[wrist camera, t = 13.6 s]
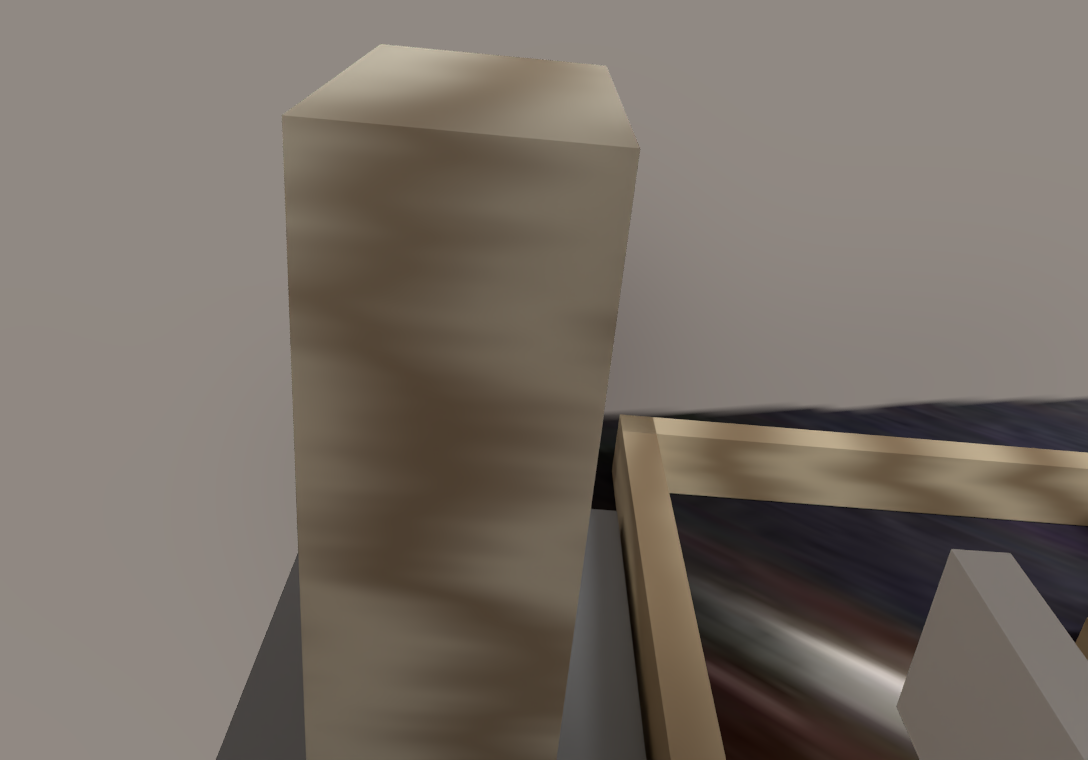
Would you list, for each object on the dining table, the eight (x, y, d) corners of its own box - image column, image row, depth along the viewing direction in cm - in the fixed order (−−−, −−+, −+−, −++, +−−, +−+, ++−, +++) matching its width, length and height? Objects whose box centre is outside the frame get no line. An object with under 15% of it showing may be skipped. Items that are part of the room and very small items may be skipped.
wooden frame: (1143, 512, 43) (1168, 459, 42) (1750, 1113, 21) (1843, 1042, 20) (611, 470, 42) (620, 414, 41) (680, 1054, 21) (702, 975, 19)
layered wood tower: (544, 594, 32) (606, 66, 24) (543, 851, 23) (640, 148, 15) (375, 582, 32) (380, 44, 24) (309, 836, 23) (282, 115, 15)
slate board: (613, 534, 38) (617, 510, 37) (677, 1133, 19) (687, 1102, 19) (324, 512, 37) (323, 488, 37) (99, 1103, 19) (92, 1071, 18)
